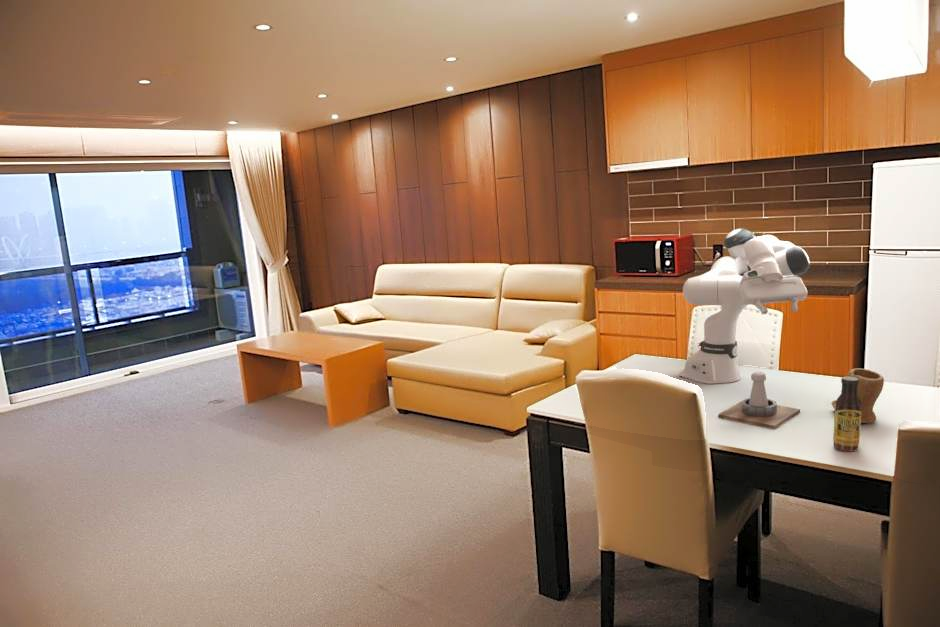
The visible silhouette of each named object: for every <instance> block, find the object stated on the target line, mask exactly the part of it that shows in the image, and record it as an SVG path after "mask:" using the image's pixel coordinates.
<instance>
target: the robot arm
mask: <svg viewBox="0 0 940 627" xmlns="http://www.w3.org/2000/svg"><path fill="white" fill-rule="evenodd" d="M723 244H724V247H725V248H726V249H727V251H728V253H729V256H727V255H726V256H721V257H719V258H718V259H717V260H715V261H714V263H713V265H711V268H710V270H708V271H706V272H705V273H703V274H700V275H696V276H693V277H689V278H687V279H686V280H685V282H684V284H683V286H682V294H683V295H682V296H683V298H684V300H685V301H686V302H687V303H688V304H692V305H696V306H697V305H698V306H721V309H720V311H718V312H716V313H714V314H711V315H710V316H708V317H707V318H706V319H705V320H704V324H703V326H704V328H703V335H704V337H703V338H704V340H702V341H701V342H699V343H698V344H697V347H698V348H699V347H700V349H699V350H698V351H697V352H696V353H694V354H692V355H691V356H689V357H688V358H687V359H686V362H685V363H684V364H685V366H684V369H682V370H681V371H679V372H678V377H680V376H682V377H681V378H683V377H686V378H685V379H687V378H689V379H688V380H691V379H693V380H692V381H695V380H696V382H700V383H703V384H709V385H711V384H721V383H722V384H723V383H724V384H725V383H733V382H737V381H739V380H741V378H742V376H741V374H740V370H739V365H738V358H737V357H738V342H737V338H736V337H737V336H736V334H737V322H738V319H739V317H740V314H741V313H742V312H743V310H744V309H745V308H746V307H747V306H749V305H754V306H755V307H756V309H758V310H759V311H760V312H761V315H765V314H766V315H767V314H768V311H769V309H768V307H767V306H765V305H763V304H773V303H774V304H775V303H786V302H787V303H788V302H791V303H792V305H791V306H790V307H789V308H790V310H791V312H792V313H795V312H796V313H797V312H798V310H799V307H798V303H799V302H800V301H801V302H802V301H804V300H806V298H807V297H808V294H809V291H808V290H807V287H806V285H805V284H804V282H803V279H802V278H801V277H800V275H804V274H806V273H807V271H808V270H809V268H810V259H809V258H810V257H809V255H808V254H807V252H806V251H805V250H804V249H803V248H802V247H800V246H799V245H795V244H794V243H792V242H791V241H787V240H785V241H784V240H779V239H778V237H776V236H774V235H772V234H764V235H759V236H755V232H754V231H750V230H748V229H747V228H743V227H741V228H740V227H739V228H736V229H733V230H732V231H730V232H729V233H727V235H726V236H725V237H724V239H723Z"/></svg>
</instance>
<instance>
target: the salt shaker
mask: <svg viewBox="0 0 940 627" xmlns="http://www.w3.org/2000/svg"><path fill="white" fill-rule="evenodd" d="M750 378H751V379H750V380H751V381H752V387H751V392H750V396H749V398H750V401H749V405H750V406H755V407H767V406H769V405H768V400H767V399H768V396H767V390H766V384H765V381H766V380H767V376H766V374H765V373H764V372H761V371H757V372H753V373H751V375H750Z"/></svg>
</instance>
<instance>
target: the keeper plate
mask: <svg viewBox="0 0 940 627" xmlns="http://www.w3.org/2000/svg"><path fill="white" fill-rule="evenodd" d="M742 401H743V400H742ZM742 401H740V402H738V403H736V404H734V405H732V406H731V407H729V408H727V409H725V410H723V411H721V412H720V413H718V418H720V417H721V418H720V419H725V418H726V419H725V420H731V421H736V422H741V423H745V424H750V425H755V426H758V427H764V428H768V429H769V428H770V429H773V430H775V429H777V428H778V427H780V426H782V425H783V424H785V423H786V422H788V421H789V420H791V419H792V418H794V417H795V416H797V415H798V414H800V413H801V409H800V408H796V407H790V406H786V405H785V406H784V405H779V404H777V414H775V415H774V416H770V417H753V416H748V415H746V414H744V413H742Z"/></svg>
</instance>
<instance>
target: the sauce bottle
mask: <svg viewBox="0 0 940 627" xmlns="http://www.w3.org/2000/svg"><path fill="white" fill-rule="evenodd" d="M840 381H841V391H840V392H841V393H840V394H839V395H838V397H837V399H835V400H836V410H835V409H834V419H833V420H834V421H833V435H832V436H833V437H832V438H833V440H832V441H833V447H834V448H835V449H837V450H839V451H842V452H855V451H857V450H858V449H859V445H860V436H861V426H862V423H861V401H860V399H859V397H858V395H857V394H858V392H857V389H858V384H859V379H858V378H855V377H847V376H843V377H841V380H840Z"/></svg>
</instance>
